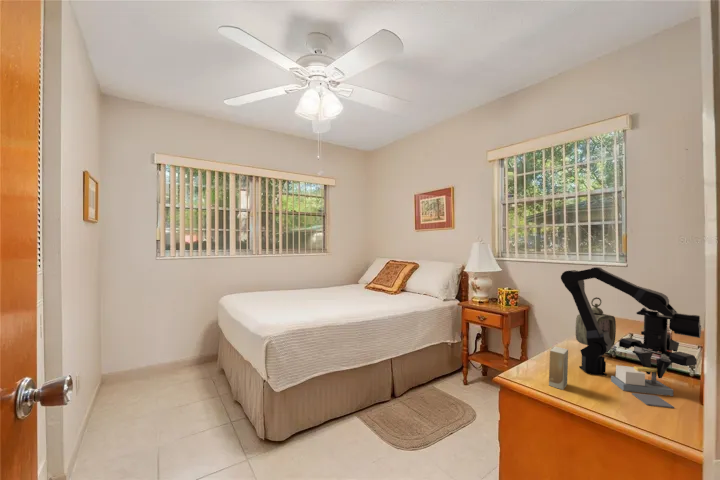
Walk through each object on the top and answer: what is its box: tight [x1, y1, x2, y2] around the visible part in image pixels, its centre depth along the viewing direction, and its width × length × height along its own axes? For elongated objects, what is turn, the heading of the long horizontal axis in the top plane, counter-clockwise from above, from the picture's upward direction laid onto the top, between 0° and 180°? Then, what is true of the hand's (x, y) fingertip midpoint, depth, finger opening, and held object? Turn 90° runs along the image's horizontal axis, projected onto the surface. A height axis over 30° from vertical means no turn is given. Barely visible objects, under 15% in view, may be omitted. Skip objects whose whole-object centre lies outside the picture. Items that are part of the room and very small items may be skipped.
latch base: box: [610, 375, 674, 397], centre depth 105 cm, size 14×7×2 cm, turn 78°
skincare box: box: [548, 346, 569, 390], centre depth 105 cm, size 6×4×12 cm
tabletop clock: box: [575, 297, 617, 347], centre depth 138 cm, size 14×9×25 cm, turn 114°
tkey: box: [633, 366, 667, 384], centre depth 104 cm, size 8×2×5 cm, turn 81°
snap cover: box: [615, 365, 646, 386], centre depth 105 cm, size 6×6×4 cm
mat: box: [631, 392, 675, 409], centre depth 96 cm, size 7×7×1 cm
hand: (654, 376), depth 104 cm, fingers closed on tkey, 3 cm apart
